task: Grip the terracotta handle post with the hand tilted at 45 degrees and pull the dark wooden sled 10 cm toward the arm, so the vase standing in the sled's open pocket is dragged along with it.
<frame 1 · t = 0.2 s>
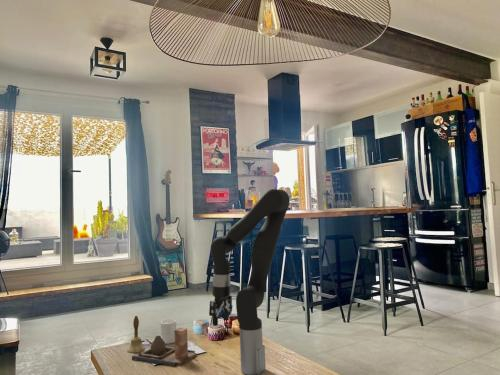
hand: (220, 322, 161), 18 cm above the table, tool pointing down, fingers open, 8 cm apart
lane rails: (163, 356, 173), on the table
hand bell: (136, 350, 184), on the table
sled: (167, 342, 173), point 7 cm above the table, slide at 0.0 cm
vase: (158, 356, 175), resting in sled
white cup: (168, 342, 194), on the table
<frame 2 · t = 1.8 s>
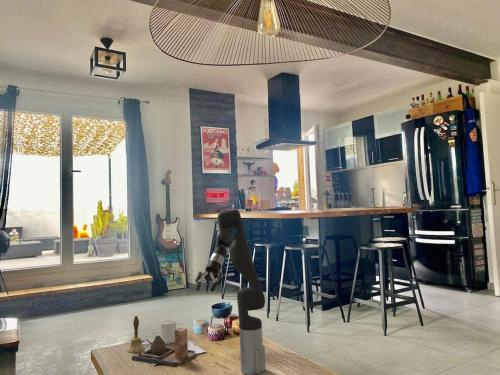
hand: (204, 290, 189), 26 cm above the table, tool tilted 45°, fingers open, 8 cm apart
nothing on the table moved.
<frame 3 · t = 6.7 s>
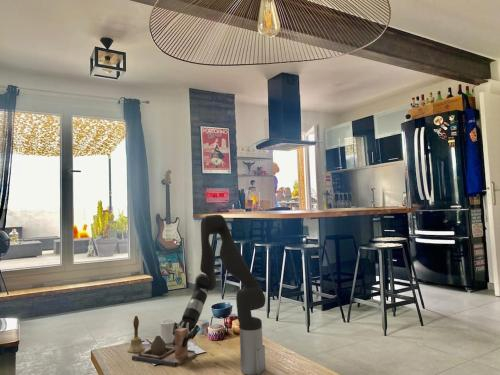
hand: (178, 345, 168), 7 cm above the table, tool tilted 45°, fingers closed on sled, 4 cm apart
sled: (167, 342, 173), point 7 cm above the table, slide at 0.0 cm, touching gripper
everything else where it was.
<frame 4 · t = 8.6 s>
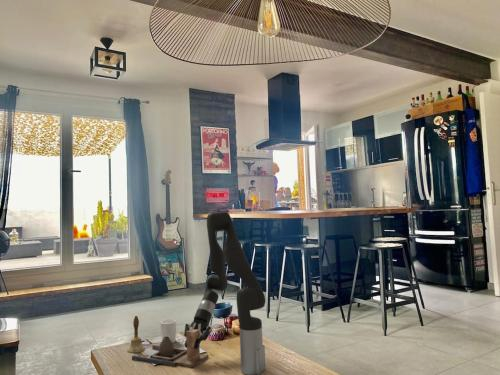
hand: (190, 347, 165), 7 cm above the table, tool tilted 45°, fingers closed on sled, 4 cm apart
sled: (179, 343, 170), point 7 cm above the table, slide at 6.4 cm, touching gripper, vase
vase: (166, 357, 173), resting in sled
everything else where it was.
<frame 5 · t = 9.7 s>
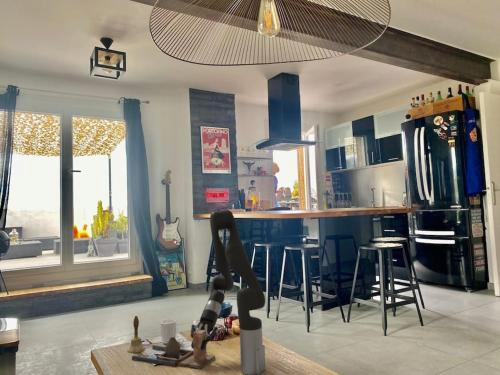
hand: (197, 348, 163), 7 cm above the table, tool tilted 45°, fingers closed on sled, 4 cm apart
sled: (185, 344, 168), point 7 cm above the table, slide at 9.8 cm, touching gripper, vase
vase: (173, 358, 171), resting in sled
everything else where it was.
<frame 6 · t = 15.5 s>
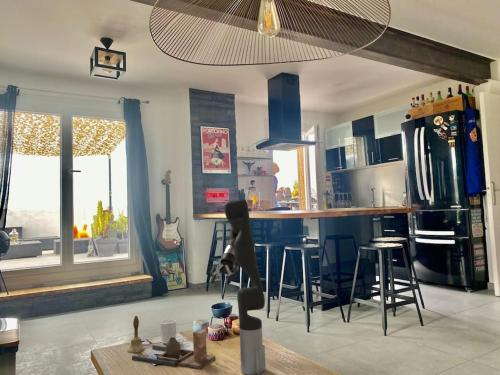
hand: (219, 283, 184), 31 cm above the table, tool tilted 45°, fingers open, 8 cm apart
sled: (185, 344, 168), point 7 cm above the table, slide at 9.9 cm
vase: (173, 358, 171), resting in sled
everything else where it was.
at the end: sled slide at 9.9 cm; vase moved 8.1 cm from its start; vase tilted 0° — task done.
